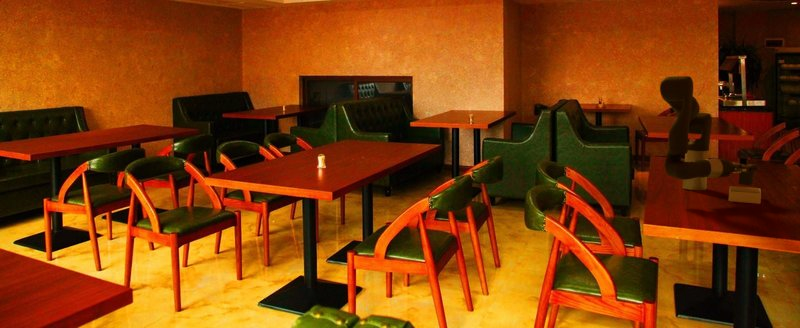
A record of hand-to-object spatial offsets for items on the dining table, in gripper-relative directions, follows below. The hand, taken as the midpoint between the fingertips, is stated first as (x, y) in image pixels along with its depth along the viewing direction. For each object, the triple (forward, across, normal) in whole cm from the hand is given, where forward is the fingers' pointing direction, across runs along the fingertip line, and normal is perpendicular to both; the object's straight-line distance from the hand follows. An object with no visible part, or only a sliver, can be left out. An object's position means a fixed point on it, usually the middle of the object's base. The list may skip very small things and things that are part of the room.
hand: (752, 167), depth 250 cm
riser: (-2, 0, +13) cm, 13 cm away
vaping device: (-3, 0, +7) cm, 8 cm away
